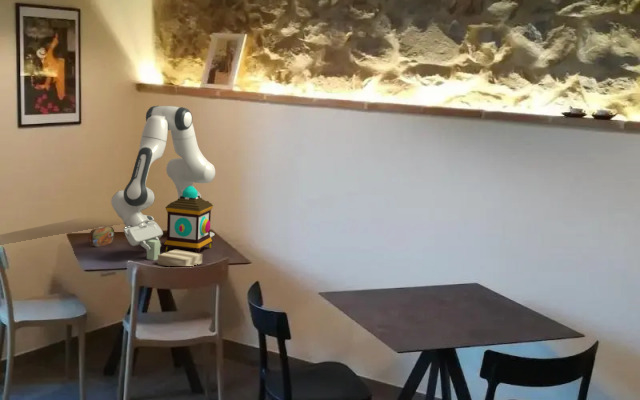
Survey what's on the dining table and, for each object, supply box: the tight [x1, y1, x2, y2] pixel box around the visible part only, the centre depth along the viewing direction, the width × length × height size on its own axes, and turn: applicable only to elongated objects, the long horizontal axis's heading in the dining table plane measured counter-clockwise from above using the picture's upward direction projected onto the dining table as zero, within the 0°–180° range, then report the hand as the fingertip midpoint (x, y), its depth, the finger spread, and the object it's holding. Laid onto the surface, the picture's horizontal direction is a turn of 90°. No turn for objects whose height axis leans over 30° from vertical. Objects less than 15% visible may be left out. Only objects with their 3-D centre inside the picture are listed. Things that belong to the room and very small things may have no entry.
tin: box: [88, 225, 116, 248], centre depth 356 cm, size 15×3×8 cm, turn 154°
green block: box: [146, 239, 161, 261], centre depth 337 cm, size 4×4×8 cm
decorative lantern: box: [163, 186, 214, 254], centre depth 355 cm, size 20×20×30 cm
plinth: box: [157, 249, 204, 267], centre depth 332 cm, size 13×14×4 cm
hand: (154, 248), depth 337 cm, fingers open, 5 cm apart
